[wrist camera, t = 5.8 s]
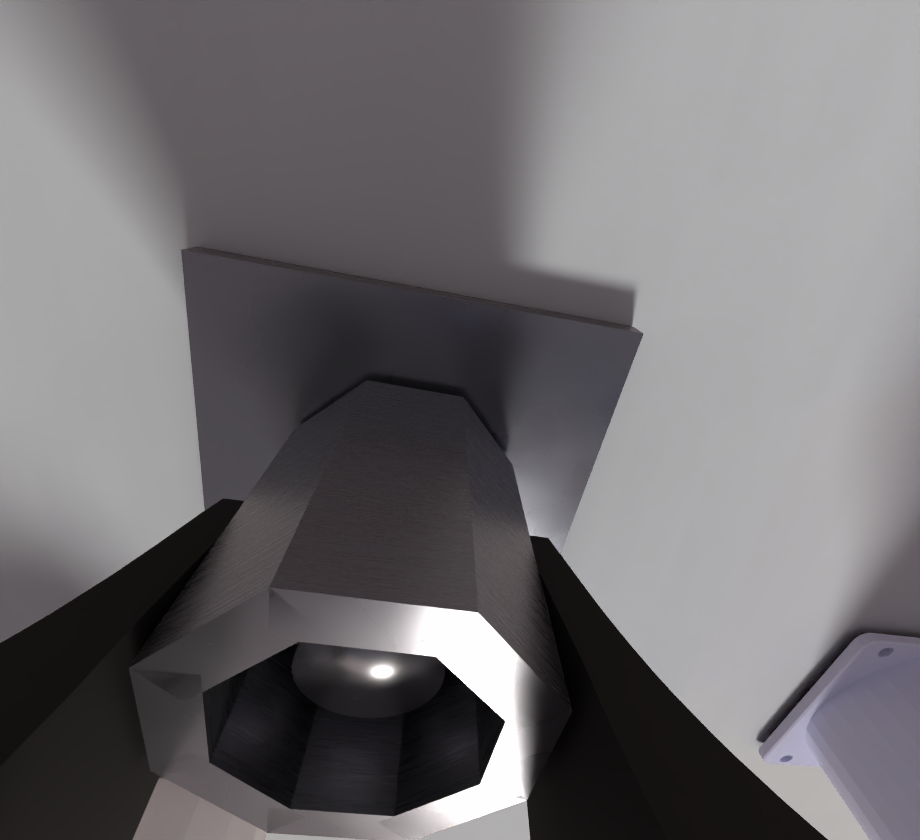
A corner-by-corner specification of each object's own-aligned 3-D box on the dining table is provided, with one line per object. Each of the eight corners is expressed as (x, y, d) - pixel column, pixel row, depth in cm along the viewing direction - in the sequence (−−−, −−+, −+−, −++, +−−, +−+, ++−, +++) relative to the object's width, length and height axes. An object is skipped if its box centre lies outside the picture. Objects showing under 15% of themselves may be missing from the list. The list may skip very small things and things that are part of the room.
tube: (528, 408, 10) (614, 628, 5) (479, 574, 13) (502, 848, 7) (296, 367, 10) (107, 566, 4) (289, 549, 12) (161, 825, 7)
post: (633, 326, 11) (819, 449, 5) (528, 612, 15) (575, 833, 10) (196, 246, 9) (-109, 305, 4) (221, 582, 14) (88, 814, 9)
